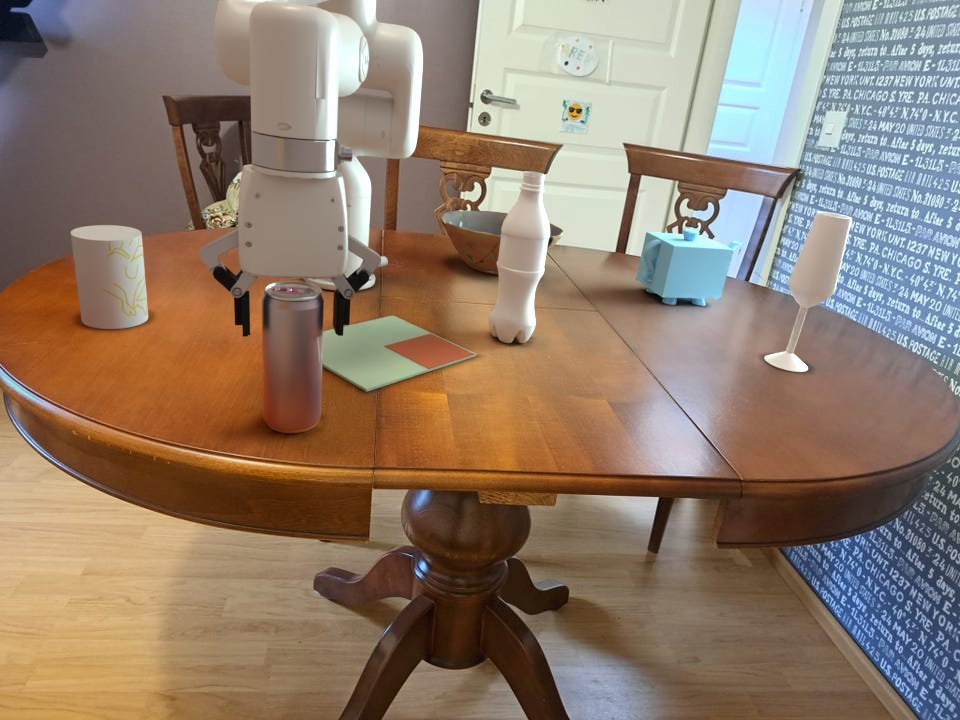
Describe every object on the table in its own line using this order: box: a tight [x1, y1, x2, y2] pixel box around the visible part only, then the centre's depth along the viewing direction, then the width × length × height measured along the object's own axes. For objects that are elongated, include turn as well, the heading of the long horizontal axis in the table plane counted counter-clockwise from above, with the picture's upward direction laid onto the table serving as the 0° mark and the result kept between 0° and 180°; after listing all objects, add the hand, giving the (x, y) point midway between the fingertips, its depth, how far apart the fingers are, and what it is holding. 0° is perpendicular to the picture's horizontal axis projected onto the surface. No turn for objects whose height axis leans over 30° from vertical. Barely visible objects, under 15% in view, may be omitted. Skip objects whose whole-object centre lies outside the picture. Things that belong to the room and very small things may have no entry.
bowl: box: [439, 210, 564, 276], centre depth 136 cm, size 25×25×10 cm
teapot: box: [635, 228, 745, 306], centre depth 133 cm, size 22×11×14 cm, turn 105°
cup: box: [70, 224, 149, 330], centre depth 89 cm, size 8×8×12 cm
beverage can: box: [261, 280, 325, 434], centre depth 69 cm, size 6×6×15 cm
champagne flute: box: [763, 211, 853, 373], centre depth 102 cm, size 7×7×24 cm
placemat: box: [322, 314, 478, 393], centre depth 92 cm, size 20×18×1 cm
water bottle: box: [488, 170, 550, 344], centre depth 98 cm, size 7×7×25 cm
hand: (293, 330), depth 67 cm, fingers open, 8 cm apart
